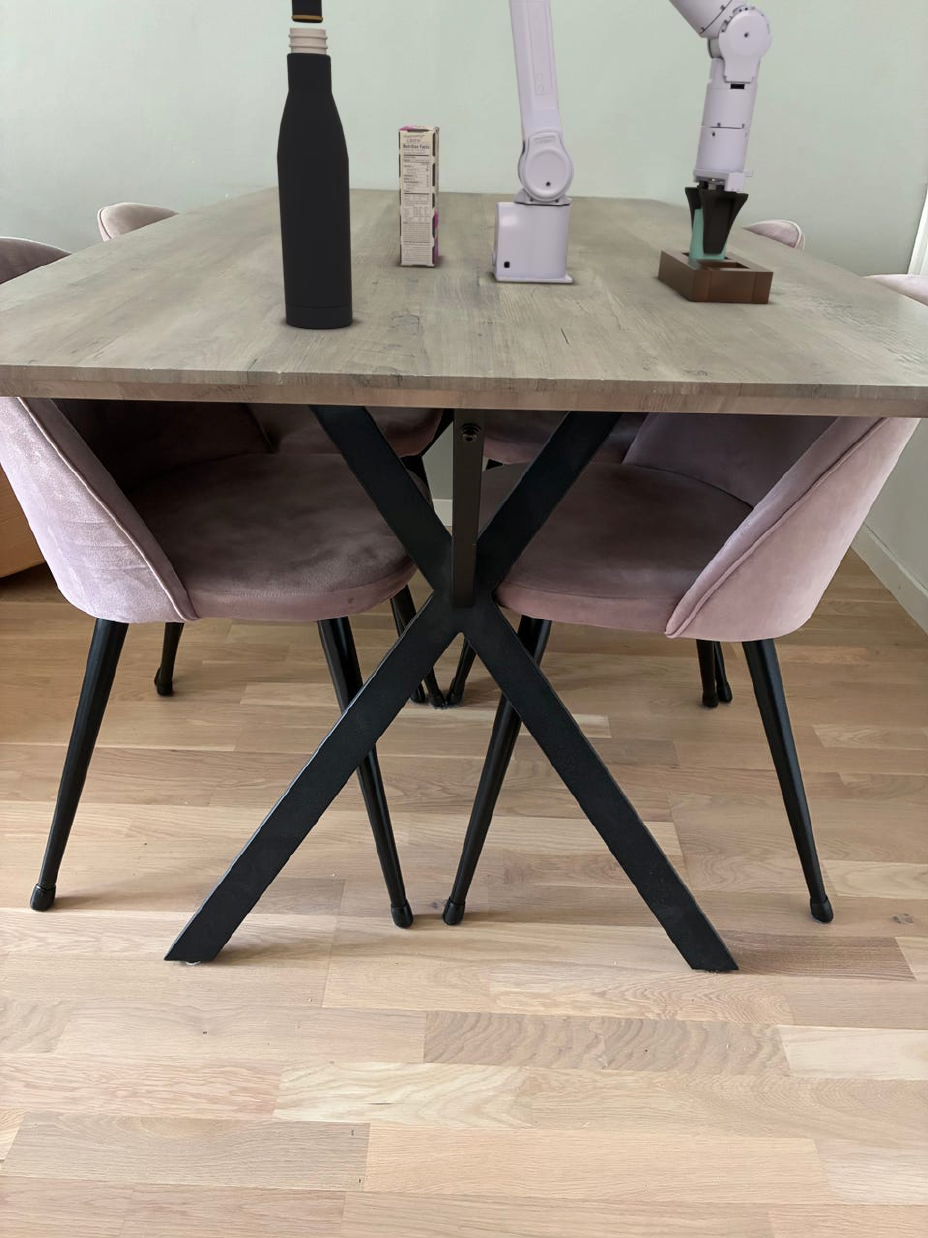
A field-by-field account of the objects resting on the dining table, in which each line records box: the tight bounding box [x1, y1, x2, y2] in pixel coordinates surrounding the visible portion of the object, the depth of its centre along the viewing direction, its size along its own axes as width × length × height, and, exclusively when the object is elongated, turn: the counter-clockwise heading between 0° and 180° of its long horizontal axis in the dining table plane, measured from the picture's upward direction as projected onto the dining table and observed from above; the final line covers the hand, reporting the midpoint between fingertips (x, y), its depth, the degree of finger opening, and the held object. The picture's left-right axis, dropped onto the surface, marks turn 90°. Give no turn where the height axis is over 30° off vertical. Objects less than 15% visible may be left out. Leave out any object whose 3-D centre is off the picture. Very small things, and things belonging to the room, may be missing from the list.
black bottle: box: [276, 0, 353, 330], centre depth 82 cm, size 6×6×30 cm
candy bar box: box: [397, 125, 440, 268], centre depth 123 cm, size 11×5×16 cm, turn 179°
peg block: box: [657, 249, 774, 304], centre depth 114 cm, size 9×16×4 cm, turn 3°
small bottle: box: [688, 183, 729, 259], centre depth 114 cm, size 4×4×10 cm
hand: (706, 250), depth 115 cm, fingers closed on small bottle, 4 cm apart
